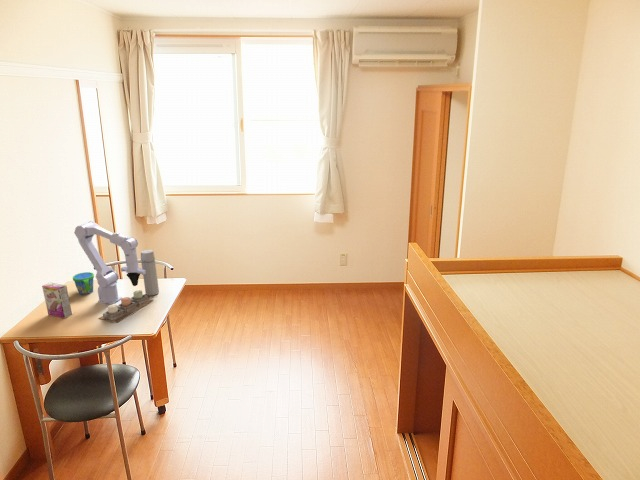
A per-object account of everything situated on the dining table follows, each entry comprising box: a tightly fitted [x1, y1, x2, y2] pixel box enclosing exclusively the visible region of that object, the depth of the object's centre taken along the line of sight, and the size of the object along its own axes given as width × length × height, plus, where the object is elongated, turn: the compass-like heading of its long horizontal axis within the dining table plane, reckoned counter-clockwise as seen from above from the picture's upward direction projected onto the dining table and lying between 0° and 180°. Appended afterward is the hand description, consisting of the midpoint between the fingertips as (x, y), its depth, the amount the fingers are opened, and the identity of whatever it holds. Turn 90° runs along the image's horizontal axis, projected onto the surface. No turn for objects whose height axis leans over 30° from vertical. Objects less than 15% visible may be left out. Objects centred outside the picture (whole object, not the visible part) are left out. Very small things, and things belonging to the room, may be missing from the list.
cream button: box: [107, 303, 118, 315], centre depth 224 cm, size 4×4×4 cm
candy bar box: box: [42, 282, 73, 319], centre depth 226 cm, size 11×5×16 cm, turn 71°
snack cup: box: [72, 271, 95, 295], centre depth 253 cm, size 16×10×10 cm
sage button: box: [133, 290, 144, 300], centre depth 240 cm, size 4×4×4 cm
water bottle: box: [139, 249, 160, 296], centre depth 249 cm, size 9×8×25 cm
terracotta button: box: [120, 296, 131, 307], centre depth 232 cm, size 4×4×4 cm
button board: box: [98, 294, 154, 324], centre depth 233 cm, size 12×26×3 cm, turn 160°
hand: (135, 285), depth 237 cm, fingers closed
